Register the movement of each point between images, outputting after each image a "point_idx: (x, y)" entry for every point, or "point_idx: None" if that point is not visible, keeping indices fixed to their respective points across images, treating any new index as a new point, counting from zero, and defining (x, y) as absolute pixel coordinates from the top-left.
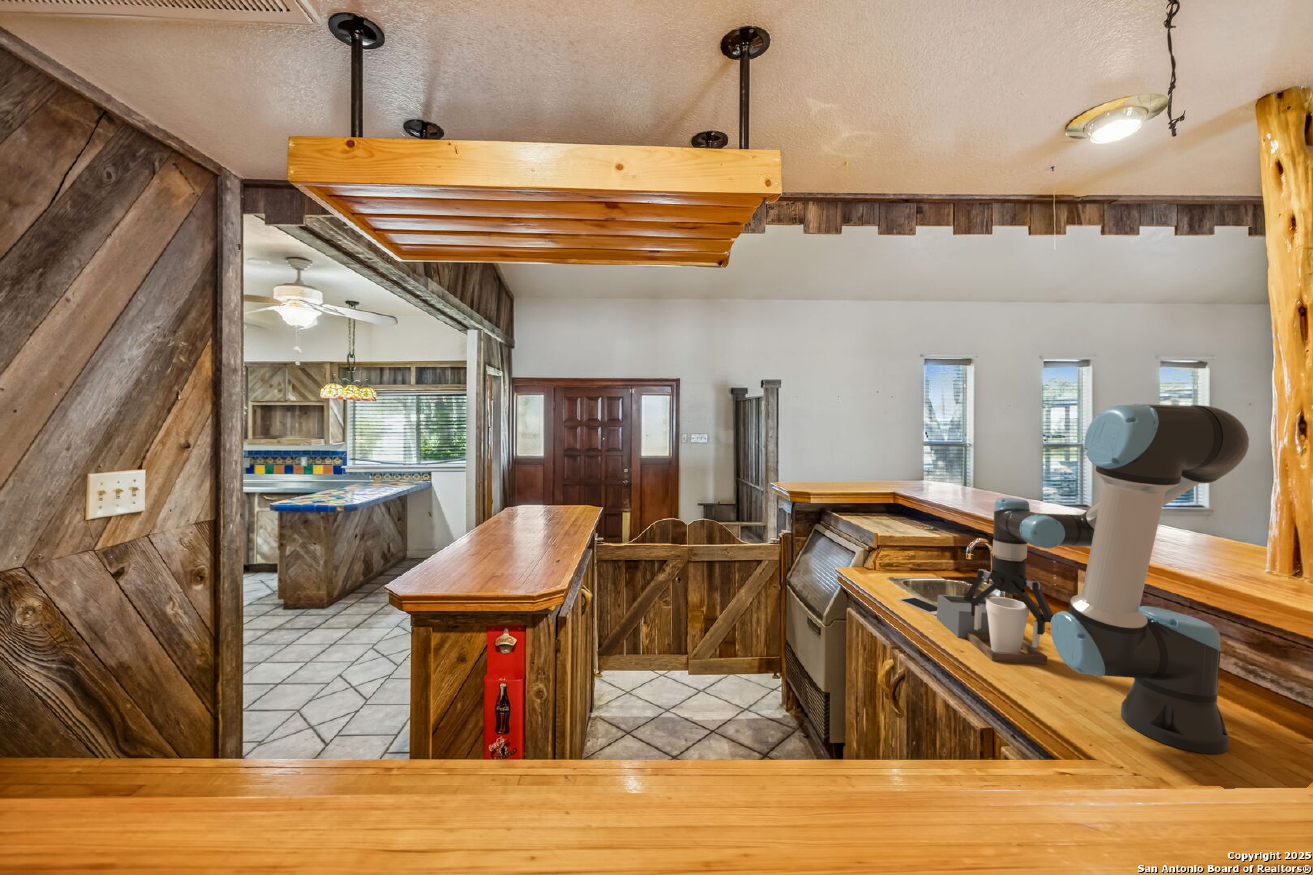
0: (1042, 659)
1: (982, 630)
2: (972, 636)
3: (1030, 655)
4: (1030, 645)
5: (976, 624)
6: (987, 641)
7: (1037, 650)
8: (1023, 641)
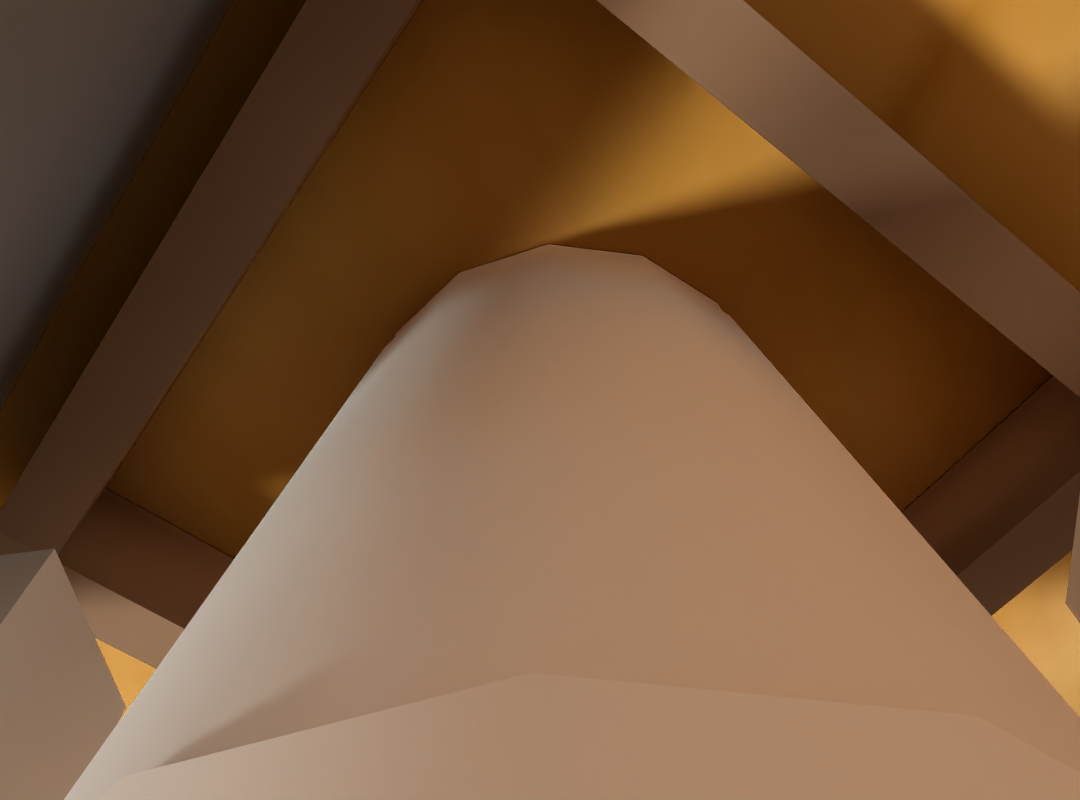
0: None
1: (3, 326)
2: (132, 654)
3: (1005, 599)
4: (881, 157)
5: (66, 795)
6: (211, 323)
7: (1044, 298)
8: (709, 54)
